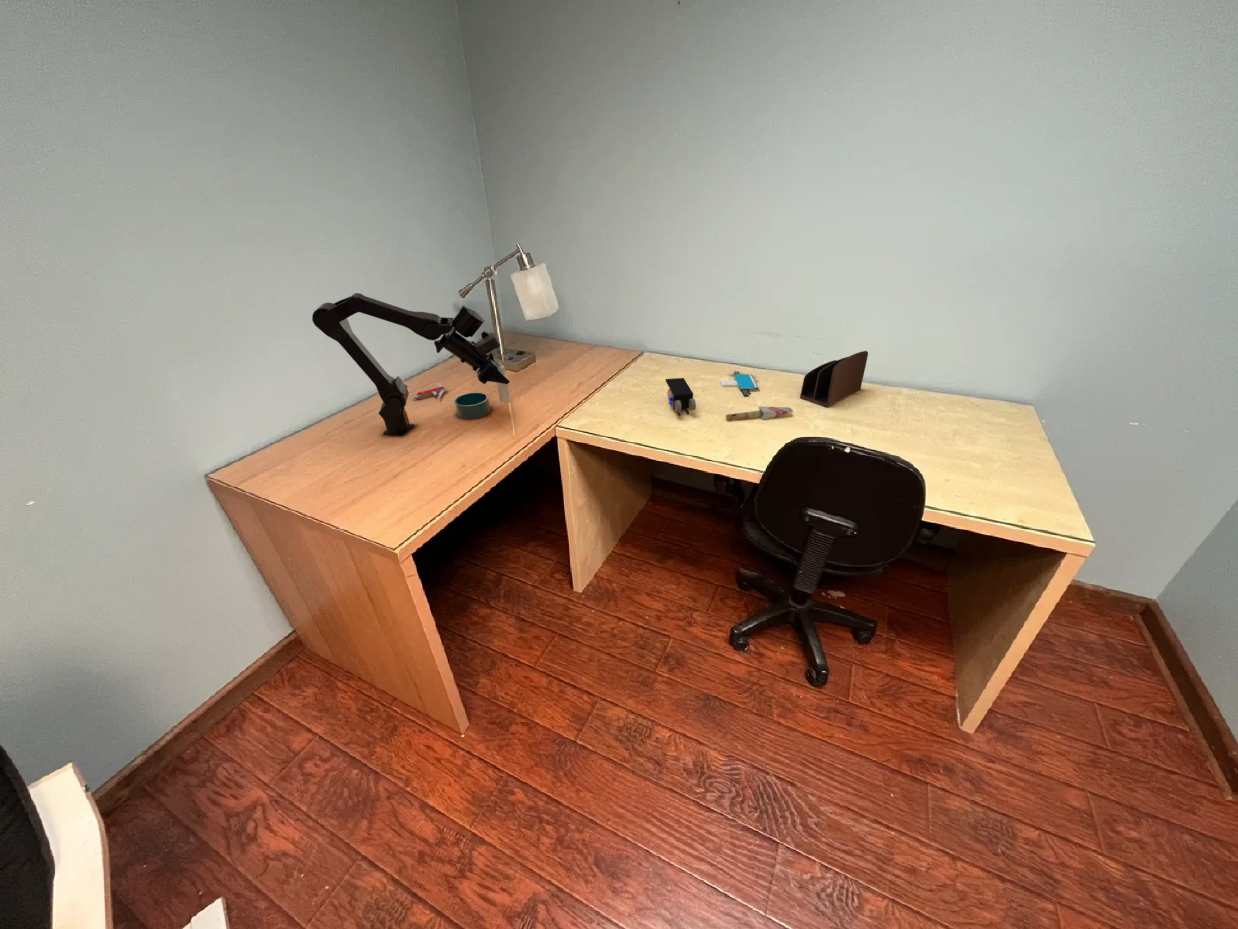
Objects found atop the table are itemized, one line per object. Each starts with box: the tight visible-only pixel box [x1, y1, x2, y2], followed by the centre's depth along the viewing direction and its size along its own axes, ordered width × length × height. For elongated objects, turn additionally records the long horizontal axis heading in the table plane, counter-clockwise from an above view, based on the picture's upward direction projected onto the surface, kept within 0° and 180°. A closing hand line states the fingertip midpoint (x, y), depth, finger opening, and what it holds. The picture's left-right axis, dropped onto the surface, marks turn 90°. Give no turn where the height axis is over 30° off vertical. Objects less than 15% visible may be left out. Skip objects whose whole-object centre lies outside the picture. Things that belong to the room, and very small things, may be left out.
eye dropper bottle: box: [496, 361, 512, 404], centre depth 148 cm, size 4×6×12 cm
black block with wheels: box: [665, 377, 697, 417], centre depth 152 cm, size 7×8×15 cm
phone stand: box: [719, 370, 761, 398], centre depth 167 cm, size 20×12×2 cm, turn 178°
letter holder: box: [799, 350, 869, 408], centre depth 155 cm, size 10×20×14 cm, turn 130°
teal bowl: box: [454, 391, 491, 420], centre depth 155 cm, size 10×10×4 cm
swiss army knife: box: [411, 382, 446, 400], centre depth 167 cm, size 12×14×2 cm
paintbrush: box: [725, 405, 794, 422], centre depth 146 cm, size 4×3×20 cm
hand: (507, 379), depth 148 cm, fingers closed on eye dropper bottle, 5 cm apart
